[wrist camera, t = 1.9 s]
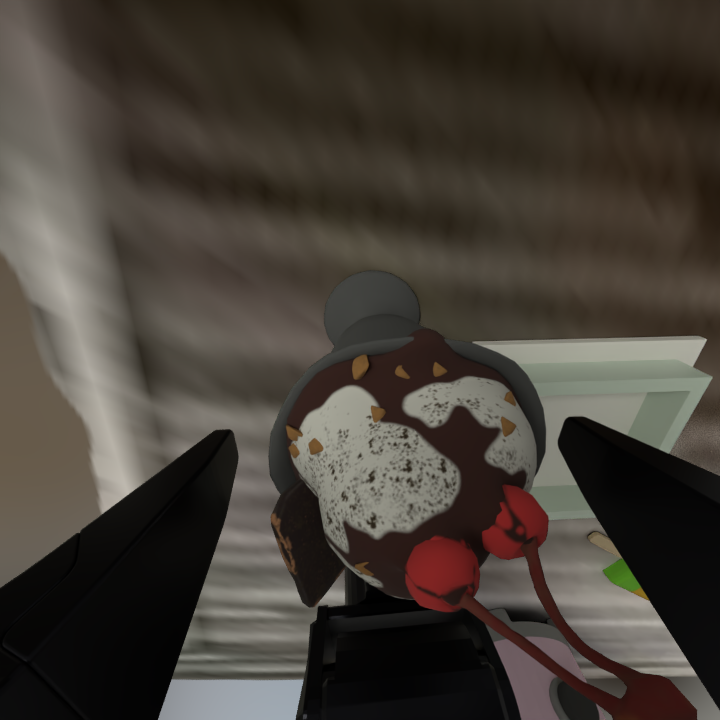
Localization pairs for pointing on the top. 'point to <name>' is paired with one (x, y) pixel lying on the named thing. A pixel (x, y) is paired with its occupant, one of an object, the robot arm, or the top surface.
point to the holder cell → (606, 397)
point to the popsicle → (617, 567)
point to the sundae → (422, 475)
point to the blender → (542, 673)
